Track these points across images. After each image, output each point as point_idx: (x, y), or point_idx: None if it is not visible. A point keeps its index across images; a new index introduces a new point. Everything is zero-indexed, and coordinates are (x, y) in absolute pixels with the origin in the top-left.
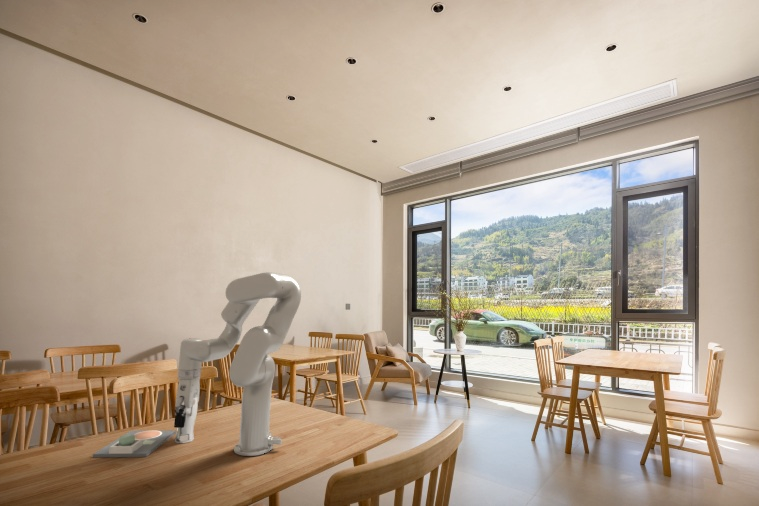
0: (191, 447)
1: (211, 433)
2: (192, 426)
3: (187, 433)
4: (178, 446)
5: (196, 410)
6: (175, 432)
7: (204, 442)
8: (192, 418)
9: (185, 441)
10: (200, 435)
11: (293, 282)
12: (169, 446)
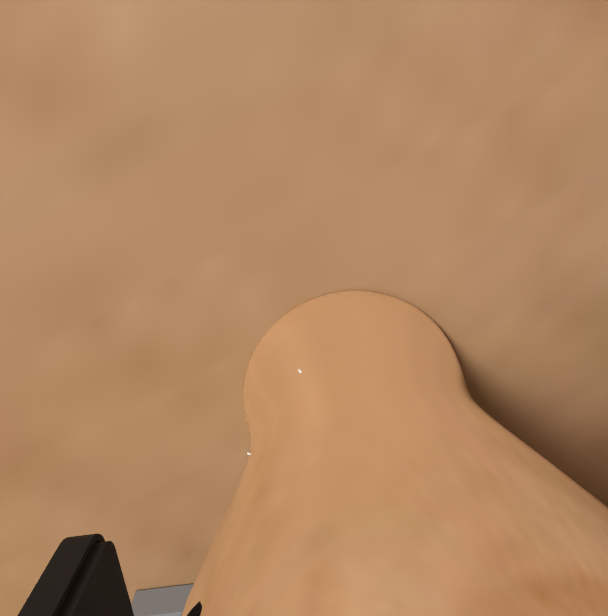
0: (596, 183)
1: (30, 172)
2: (405, 380)
3: (453, 377)
4: (552, 357)
5: (502, 607)
6: (141, 599)
7: (408, 94)
8: (540, 470)
9: (447, 343)
10: (144, 288)
11: None
12: (548, 449)
